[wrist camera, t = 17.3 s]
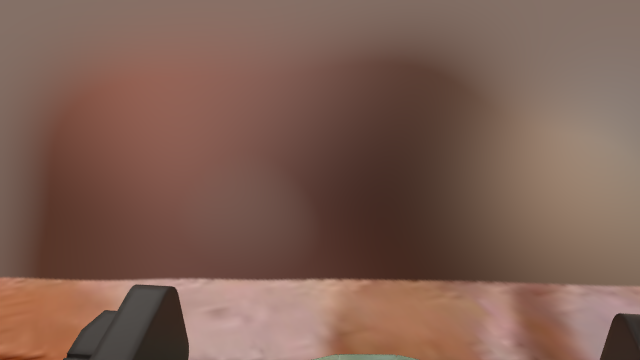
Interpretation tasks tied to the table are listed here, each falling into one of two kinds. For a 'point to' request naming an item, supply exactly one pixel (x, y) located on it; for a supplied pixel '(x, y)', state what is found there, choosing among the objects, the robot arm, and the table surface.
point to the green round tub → (364, 357)
